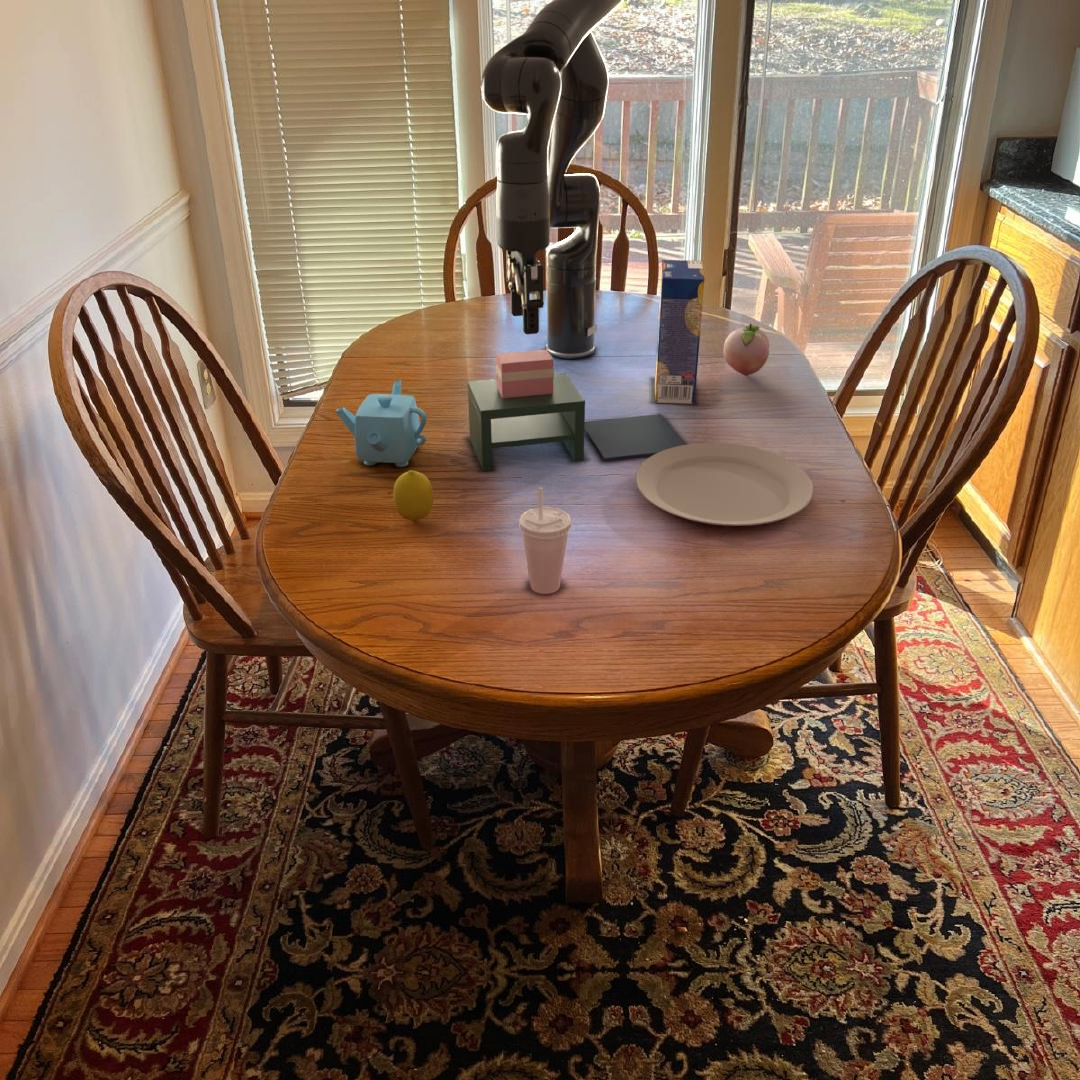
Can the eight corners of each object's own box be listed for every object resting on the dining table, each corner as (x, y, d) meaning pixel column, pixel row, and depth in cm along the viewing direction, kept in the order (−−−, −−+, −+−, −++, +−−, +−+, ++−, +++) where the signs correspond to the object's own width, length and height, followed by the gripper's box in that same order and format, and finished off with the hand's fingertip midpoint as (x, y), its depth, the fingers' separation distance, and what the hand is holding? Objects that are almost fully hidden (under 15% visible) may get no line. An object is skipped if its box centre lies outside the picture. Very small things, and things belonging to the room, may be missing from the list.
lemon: (441, 515, 143) (438, 464, 139) (424, 534, 139) (421, 482, 134) (405, 509, 145) (401, 459, 140) (388, 528, 140) (383, 476, 136)
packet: (496, 387, 157) (495, 353, 154) (547, 383, 159) (547, 349, 156) (502, 398, 153) (501, 363, 151) (553, 393, 155) (554, 359, 152)
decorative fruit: (722, 365, 192) (727, 313, 187) (766, 368, 191) (772, 316, 186) (719, 383, 184) (724, 330, 179) (765, 386, 183) (771, 333, 178)
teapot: (417, 484, 151) (412, 422, 146) (325, 479, 153) (318, 418, 147) (440, 433, 167) (436, 375, 161) (357, 429, 168) (351, 372, 163)
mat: (580, 424, 169) (580, 421, 169) (660, 416, 172) (660, 413, 172) (604, 461, 157) (604, 458, 157) (689, 451, 160) (689, 449, 160)
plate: (840, 528, 139) (842, 515, 138) (661, 544, 136) (661, 531, 135) (774, 448, 161) (775, 437, 160) (617, 461, 157) (618, 449, 156)
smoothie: (518, 573, 130) (516, 476, 123) (567, 570, 130) (569, 474, 123) (521, 601, 125) (520, 501, 117) (573, 598, 125) (575, 499, 118)
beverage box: (692, 380, 186) (701, 260, 174) (694, 404, 176) (704, 279, 165) (654, 378, 186) (661, 259, 175) (655, 402, 177) (662, 278, 166)
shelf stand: (469, 438, 165) (467, 381, 160) (565, 428, 168) (565, 372, 163) (483, 471, 155) (480, 411, 150) (583, 460, 158) (585, 401, 153)
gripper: (561, 222, 137) (560, 337, 145) (537, 200, 149) (538, 307, 157) (507, 226, 136) (509, 342, 144) (487, 203, 147) (491, 311, 156)
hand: (524, 323), depth 151 cm, fingers open, 8 cm apart
